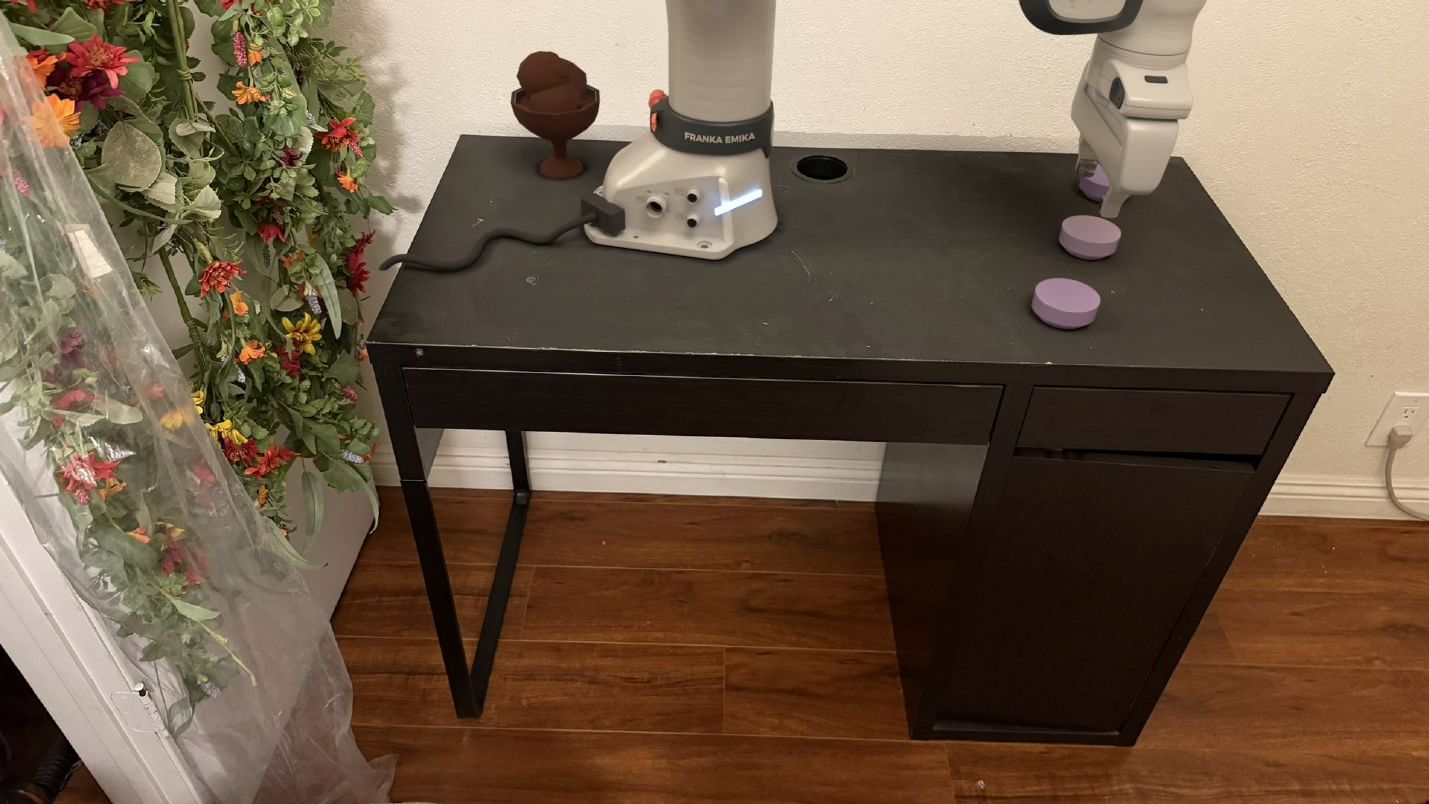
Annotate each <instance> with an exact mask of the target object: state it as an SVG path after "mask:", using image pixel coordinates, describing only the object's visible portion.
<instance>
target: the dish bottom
mask: <svg viewBox="0 0 1429 804" xmlns="http://www.w3.org/2000/svg"><path fill="white" fill-rule="evenodd" d="M1109 181H1110V180H1109V178H1108V177H1107V175H1106V174H1105V172H1104V170H1103V169H1102V167H1101V166H1100V164H1099V163H1098V164H1097V167H1096V170H1095V173H1094V176H1093V177H1091V178H1087V177H1080V176H1079V181H1078V187H1079V189H1080V190H1081V191H1082V192H1083V194H1084V195H1085V197H1087V198H1089V199H1090V200H1093V201H1095V202H1098V203H1100V199H1101V196H1105V195H1106V194H1107V192H1108V190H1109V187H1108V184H1109ZM1131 196H1132V195H1130V196H1129V197H1128V198H1130V197H1131ZM1128 198H1127V199H1128Z"/></svg>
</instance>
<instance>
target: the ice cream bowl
mask: <svg viewBox="0 0 1429 804" xmlns="http://www.w3.org/2000/svg"><path fill="white" fill-rule="evenodd" d="M515 77H516V79H517V81H518V83H519V86H520V87H519V88H517V89H514V90H512V91H511V94H510V95H511V96H510V106H511V110H512V112H513V115H514V117H515V119H516V120H517V122H518V124H519V125H521V127H523V128H524V129H526V130H527V132H530V133H531V134H533V135H535V136H536V137H539V138H540V139H543V140H544V141H548V142H550V143H551V145H552V151H553V152H552V153H553V155H551V156H550V157H548V158H547V159H545V160H543V161H542V162H540V171H539V172H540V174H542V175H543V176H546V177H548V178H553V179H567V178H573V177H576V176H577V175H579V174H580V173H582V172H583V170H584V169H583V166H584V165H583V163H582V161H581V160H579V159H578V158H576V157H574V156H572V155H569V154H568V149H567V144H568V141H571V140H573V139H574V138H576V137H578V136H579V135H581V134H582V133H583V132H586V131H587V130H588V129H589V128H590V127H591V126H592V125H594V123H595V122H596V119H597V118H598V114H599V112H600V111H599V110H600V105H601V93H600V89H598V88H596V87H594V86H593V85H590V84H588V77H587V73H586V72H585V71H584V70H583V69H582V68H581V67H579V66H578V65H577V64H575V63H574V62H573V61H571V60H568V59H566V58H563V57H560V56H559V55H558V53H556V52H553V51H550V50H549V51H545V50H538V51H534V52H531V53H529V55H527V56H526V57H525V58H524V59H523V60H522V61H521V62H520V63H519V66H518V71H517V73H516V76H515Z"/></svg>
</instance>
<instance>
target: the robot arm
mask: <svg viewBox="0 0 1429 804" xmlns="http://www.w3.org/2000/svg"><path fill="white" fill-rule="evenodd" d="M1017 1H1018V4H1019V8H1020V9H1021V12H1022V13H1023V15H1024V17H1025V18H1026V20H1027V21H1028V22H1029V23H1030V24H1031V25H1032V26H1033V27H1035V28H1036V29H1038V31H1041V32H1043V33H1046V34H1048V35H1049V34H1050V35H1053V36H1081V35H1083V36H1084V35H1096V36H1095V40H1094V44H1093V48H1092V51H1091V54H1090V58H1089V60H1088V61H1087V62H1086V64H1085V66H1084V68H1083V70H1082V73H1081V76H1080V79H1079V81H1078V84H1077V88H1076V90H1075V94H1074V95H1073V100H1072V102H1071V107H1070V118H1071V121H1072V122H1073V123H1074V125H1075V127H1076V128H1077V130H1078V131H1079V133H1080V134H1079V137H1078V151H1077V153H1078V154H1077V155H1078V157H1077V161H1076V164H1075V168H1074V169H1075V173H1077V175H1078V177H1079V178H1080V177H1087V178H1091V177H1093V176H1094V173H1095V170H1096V167H1097V164H1100V166H1101V167H1102V169H1103V170H1104V172H1105V174H1106V175H1107V177H1108V178H1109V180H1110V181H1109V184H1108V187H1109V190H1108V192H1107V194H1106V195H1105V196H1101V199H1100V202H1098V203H1099V204H1098V205H1097V211H1098V212H1099V214H1100V216H1101V218H1102V219H1115V218H1117V217H1118V216H1119V214H1120V211H1121V208H1122V205H1123V204H1124V203H1125V201H1127V199H1128V197H1129V196H1130V195H1131V196H1149V195H1150V194H1152V193H1153V192H1154V191H1155V190H1156V189H1157V187H1158V186H1159V185H1160V183H1161V180H1162V179H1163V176H1164V173H1165V171H1166V170H1167V169H1166V168H1167V166H1168V163H1169V161H1170V160H1171V159H1170V158H1171V156H1172V153H1173V151H1174V148H1175V146H1176V145H1175V144H1176V142H1177V139H1178V134H1179V127H1180V126H1179V120H1187V119H1188V118H1189V116H1190V114H1191V111H1192V108H1193V106H1194V97H1193V93H1192V90H1191V87H1190V84H1189V78H1188V64H1187V62H1186V61H1187V59H1188V56H1189V53H1190V50H1191V49H1192V43H1193V31H1194V25H1195V24H1196V21H1197V18H1198V17H1199V14H1200V13H1201V11H1202V10H1203V9H1204V7H1205V5H1206V4H1207V1H1208V0H1017ZM776 7H777V0H665V10H666V22H667V42H668V43H667V58H668V59H667V64H668V66H667V70H668V71H667V72H668V74H667V75H668V76H667V77H668V79H667V81H668V82H667V83H668V94H666V93H665V91H664V90H663V89H660V88H657V89H653V90H652V91H651V93H650V94H649V97H648V103H647V104H648V107H649V131H647V132H646V133H644V134H643V135H641V136H639V137H638V138H637V139H635V140H634V141H632V142H630V143H629V144H628V145H626V146H625V147H623V148H622V149H620V150H618V152H616V154H615V155H613V156H614V157H613V158H612V159H611V161H610V162H609V164H608V167H607V169H606V172H605V175H604V179H603V182H602V183H603V184H602V185H600V186H599V187H598V188H596V189H595V190H594V191H593V192H592V193H590V194H587V195H584V196H582V197H580V208H581V217H578V218H576V219H572V220H570V221H567V222H566V223H564V224H561V225H560V226H558V227H557V228H556V229H554V230H553V231H552V232H551V233H549V234H547V235H543V236H541V235H532V234H528V233H526V232H523V231H520V230H517V229H513V228H507V227H506V228H505V227H504V228H503V227H501V228H495V229H492V230H489V231H487V232H485V233H484V234H483V235H481V236H480V237H479V238H478V240H477V241H476V243H475V245H474V248H473V249H472V251H471V253H470V254H469V255H468V256H466V257H465V258H462V259H459V260H455V261H442V260H436V259H432V258H428V257H425V256H422V255H417V254H411V253H399V254H395V255H392V256H390V257H388V258H386V259H385V261H383V262H382V263H381V264H380V266H379V267H378V271H381V272H385V271H388V270H389V269H390V268H391V267H393V266H395V265H398V264H400V263H411V264H415V265H420V266H424V267H428V268H430V269H435V270H441V271H457V270H462V269H464V268H467V267H469V266H471V265H472V264H474V263H475V262H476V261H477V260H478V259H479V257H480V256H481V254H482V252H483V250H484V248H485V246H486V244H487V243H488V242H490V241H491V240H492V239H496V238H500V237H501V238H502V237H509V238H514V239H516V240H520V241H522V242H525V243H529V244H533V245H547V244H551V243H553V242H555V241H556V240H558V239H559V238H560V237H561V236H563V235H564V234H565V233H567V232H570V231H572V230H574V229H577V228H579V227H581V226H583V230H584V232H585V234H586V236H587V237H588V239H589V240H590V241H591V242H592V243H594V244H597V245H604V246H611V247H617V248H618V247H619V248H625V249H633V250H639V251H647V252H654V253H655V252H656V253H661V254H669V255H675V256H676V255H677V256H684V257H685V256H686V257H690V258H691V257H692V258H698V259H706V260H714V261H715V260H721V259H725V258H726V257H727V256H729V255H730V254H732V253H733V252H735V251H736V250H738V249H740V248H743V247H747V246H749V245H753V244H756V243H757V242H761V241H762V240H764V239H765V238H767V237H768V236H770V235H771V234H772V233H773V232H774V231H775V229H776V228H777V225H778V220H779V219H778V215H777V211H776V206H775V201H774V197H773V191H772V182H771V169H770V156H771V153H772V149H773V146H774V137H775V136H774V135H775V110H774V101H773V100H772V99H771V98H772V83H773V82H772V81H773V80H772V79H773V65H774V63H773V62H774V49H775V47H774V46H775V29H776V13H777V12H776V10H777V8H776ZM1131 196H1130V197H1131ZM1130 197H1129V198H1130Z"/></svg>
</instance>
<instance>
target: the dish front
mask: <svg viewBox="0 0 1429 804" xmlns="http://www.w3.org/2000/svg"><path fill="white" fill-rule="evenodd" d="M1100 305H1101V297H1100V294H1099V293H1098V292H1097V291H1096V290H1095V289H1094V288H1093V287H1091V286H1090V285H1088V284H1086V283H1084V282H1081V281H1078V280H1074V279H1070V278H1064V277H1054V278H1052V277H1051V278H1047V279H1044V280H1042V281H1040V282H1039V283H1038V284H1036V286H1035V288H1034V292H1033V295H1032V300H1031V308H1032V310H1033V312H1034V313H1035V314H1036V315H1037V316H1038V317H1039V318H1040V319H1041V321H1042V322H1044V323H1045V324H1047V325H1049V326H1051V327H1054V328H1058V329H1062V330H1063V329H1064V330H1075V329H1079V328H1081V327H1084V326H1087V325H1089V324H1091V323H1092V322H1094V321H1095V320H1096V317H1097V315H1098V311H1099V308H1100Z"/></svg>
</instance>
